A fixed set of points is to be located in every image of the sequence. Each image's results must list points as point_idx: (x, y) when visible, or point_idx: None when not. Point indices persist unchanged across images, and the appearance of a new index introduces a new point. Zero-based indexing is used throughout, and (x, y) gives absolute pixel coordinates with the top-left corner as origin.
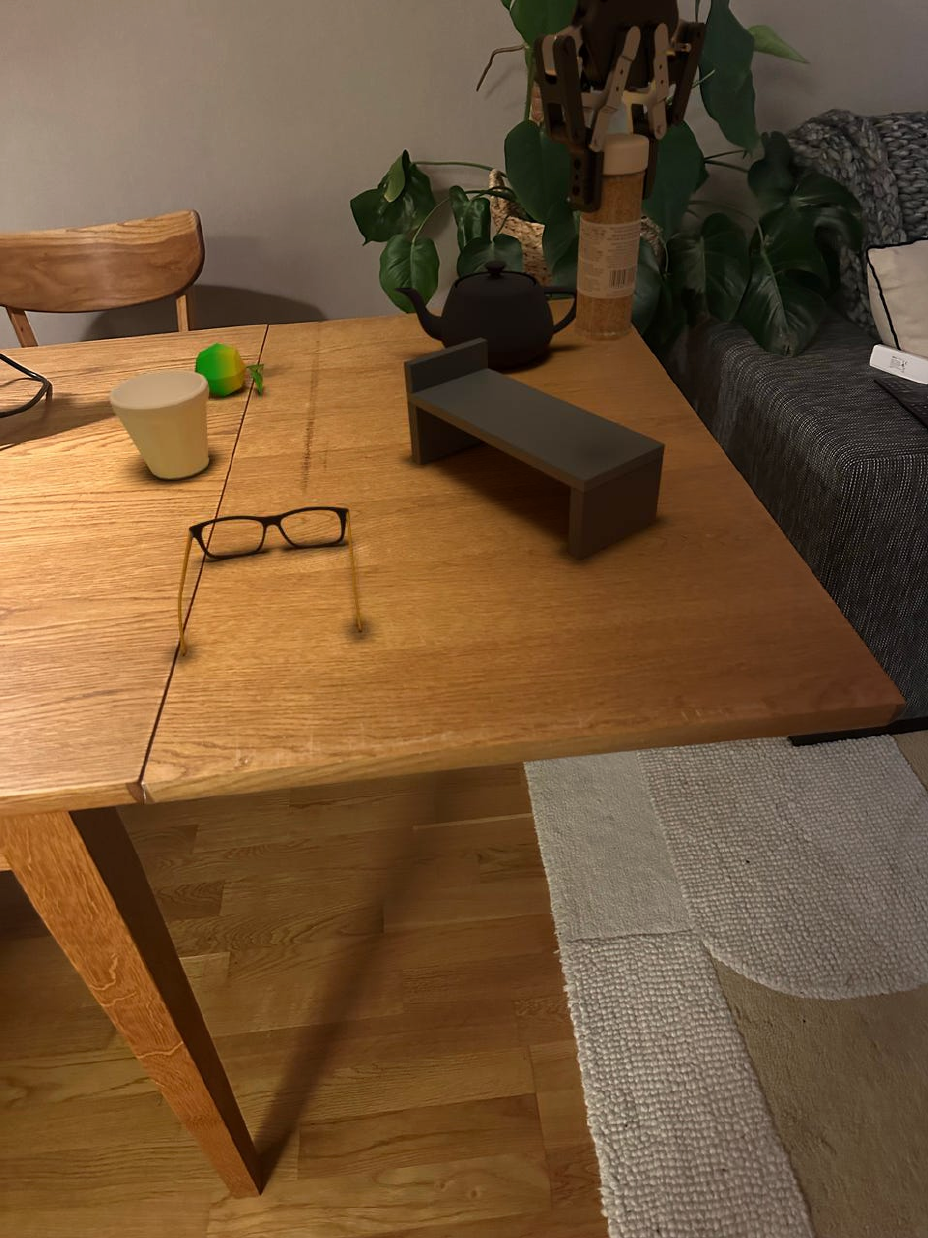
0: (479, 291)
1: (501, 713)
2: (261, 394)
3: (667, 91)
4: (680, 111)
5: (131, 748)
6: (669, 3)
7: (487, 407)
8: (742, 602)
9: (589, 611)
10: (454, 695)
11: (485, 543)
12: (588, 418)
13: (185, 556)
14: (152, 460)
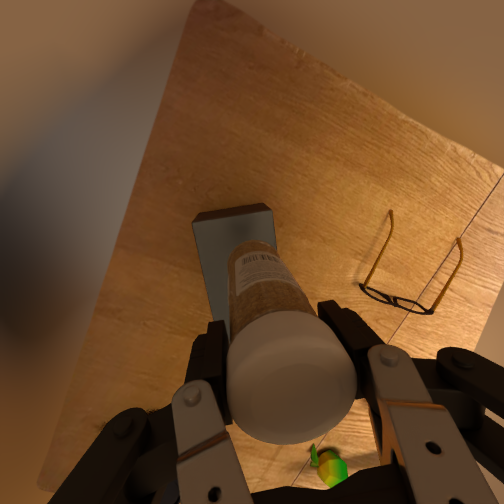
0: (169, 485)
1: (373, 114)
2: (313, 443)
3: (184, 466)
4: (115, 437)
5: (500, 190)
6: None
7: None
8: (209, 113)
9: (288, 159)
10: (383, 140)
11: (296, 246)
12: (214, 283)
13: (445, 290)
14: None
